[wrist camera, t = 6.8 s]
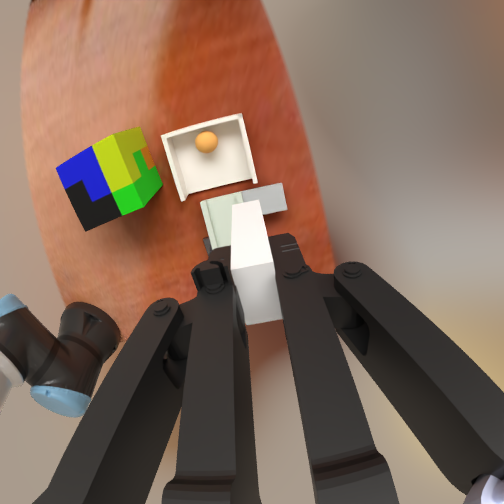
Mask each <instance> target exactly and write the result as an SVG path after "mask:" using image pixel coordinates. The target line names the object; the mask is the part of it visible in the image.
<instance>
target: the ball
mask: <svg viewBox="0 0 504 504" xmlns="http://www.w3.org/2000/svg"><path fill="white" fill-rule="evenodd" d="M195 145H196V148H197V149H198V150H199V151H200V152H202V153H210V152H212V151H214V150H215V149H216V147H217V145H218V138H217V136H216V135H215V134H214V133H213V132H211V131H203V132H201V133H199V134H198V135H197V137H196V139H195Z"/></svg>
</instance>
